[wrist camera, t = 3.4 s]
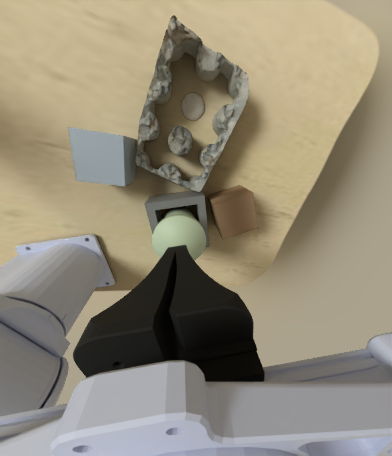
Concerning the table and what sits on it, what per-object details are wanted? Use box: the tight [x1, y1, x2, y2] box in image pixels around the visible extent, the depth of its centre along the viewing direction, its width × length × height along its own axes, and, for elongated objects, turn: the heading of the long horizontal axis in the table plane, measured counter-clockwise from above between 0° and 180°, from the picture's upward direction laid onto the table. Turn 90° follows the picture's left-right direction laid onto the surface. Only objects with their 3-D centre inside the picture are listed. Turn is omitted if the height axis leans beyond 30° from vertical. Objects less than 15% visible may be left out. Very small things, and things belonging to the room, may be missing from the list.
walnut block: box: [208, 185, 258, 239], centre depth 19 cm, size 4×4×4 cm
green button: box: [152, 208, 206, 260], centre depth 17 cm, size 5×5×4 cm
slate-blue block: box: [68, 127, 135, 186], centre depth 16 cm, size 4×4×4 cm
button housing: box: [145, 190, 210, 247], centre depth 19 cm, size 6×6×3 cm
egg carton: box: [135, 16, 249, 192], centre depth 15 cm, size 11×8×4 cm
